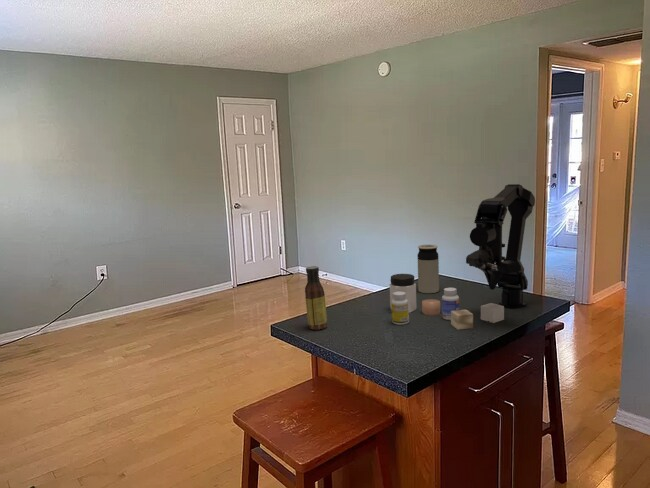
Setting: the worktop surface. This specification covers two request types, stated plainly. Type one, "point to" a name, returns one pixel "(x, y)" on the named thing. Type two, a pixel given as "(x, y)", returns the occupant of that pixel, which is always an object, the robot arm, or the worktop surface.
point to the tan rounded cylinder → (431, 307)
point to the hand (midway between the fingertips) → (492, 289)
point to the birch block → (462, 319)
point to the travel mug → (428, 269)
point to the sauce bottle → (315, 300)
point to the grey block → (492, 312)
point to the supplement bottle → (400, 308)
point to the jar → (404, 289)
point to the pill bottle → (449, 302)
